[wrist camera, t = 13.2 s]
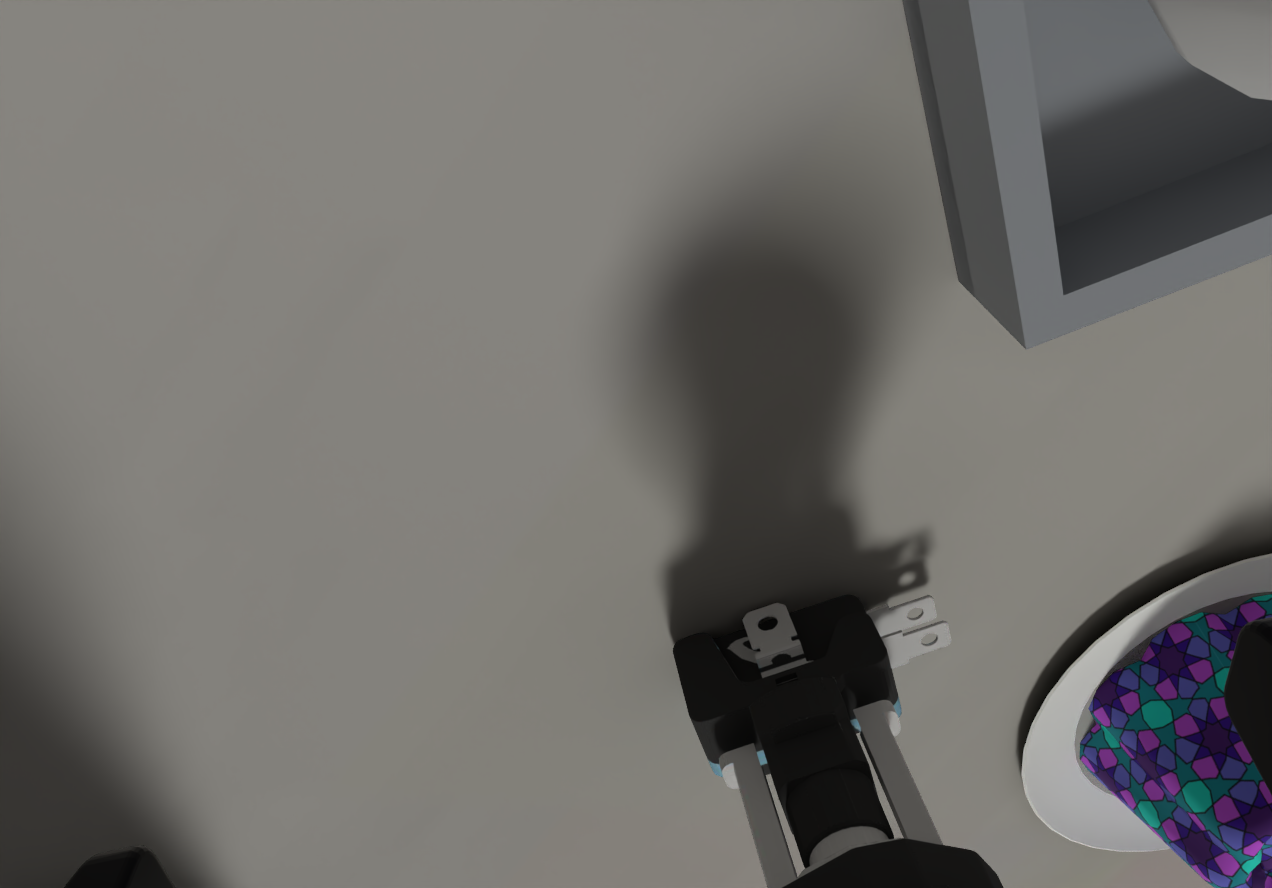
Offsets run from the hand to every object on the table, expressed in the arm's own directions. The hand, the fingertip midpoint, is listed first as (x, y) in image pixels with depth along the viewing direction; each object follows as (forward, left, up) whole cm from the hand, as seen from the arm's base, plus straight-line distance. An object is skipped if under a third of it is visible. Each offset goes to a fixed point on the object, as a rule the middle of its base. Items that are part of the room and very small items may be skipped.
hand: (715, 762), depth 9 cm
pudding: (+16, -18, -14) cm, 28 cm away
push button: (+4, -12, -13) cm, 18 cm away
